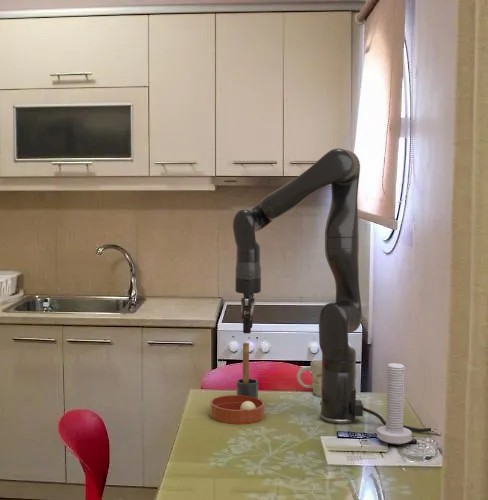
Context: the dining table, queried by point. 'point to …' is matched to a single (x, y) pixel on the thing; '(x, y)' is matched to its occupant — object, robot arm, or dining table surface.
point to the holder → (247, 388)
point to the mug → (313, 376)
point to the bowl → (236, 409)
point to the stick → (246, 363)
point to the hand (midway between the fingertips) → (247, 330)
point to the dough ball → (247, 405)
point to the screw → (395, 408)
